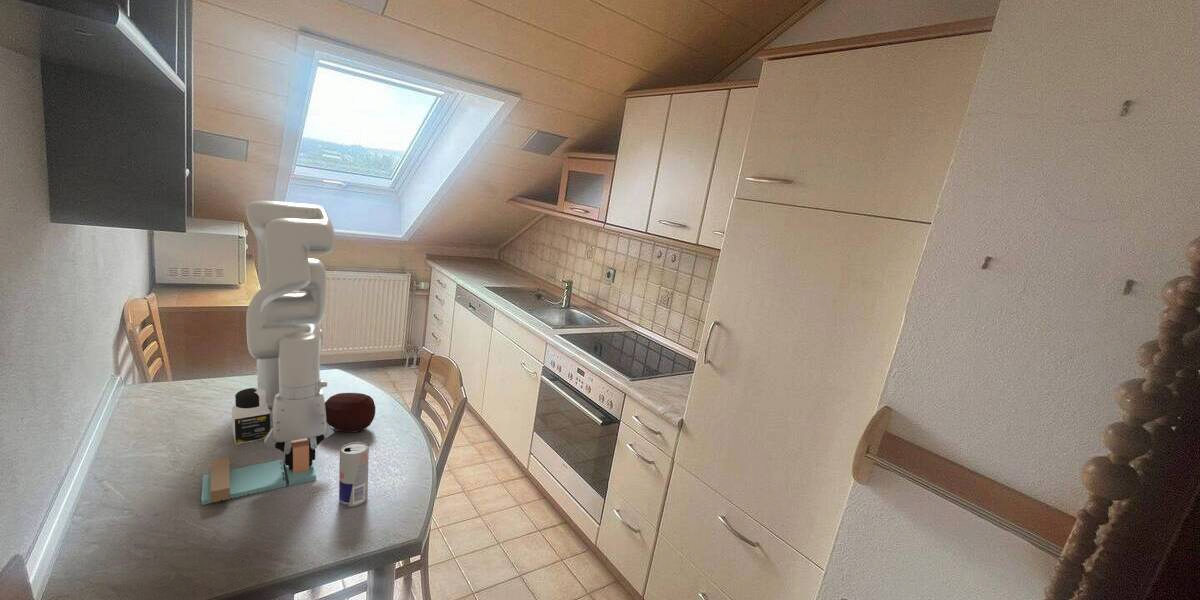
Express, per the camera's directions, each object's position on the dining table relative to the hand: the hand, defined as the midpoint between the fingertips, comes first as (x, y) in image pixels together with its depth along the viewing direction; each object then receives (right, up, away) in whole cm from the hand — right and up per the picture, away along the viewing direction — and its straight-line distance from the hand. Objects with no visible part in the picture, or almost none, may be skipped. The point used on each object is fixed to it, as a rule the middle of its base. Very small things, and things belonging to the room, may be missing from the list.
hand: (300, 464), depth 108 cm
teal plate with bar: (-8, -2, -6) cm, 10 cm away
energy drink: (+16, -5, -7) cm, 18 cm away
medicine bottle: (-20, +3, +12) cm, 24 cm away
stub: (0, -2, 0) cm, 2 cm away
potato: (0, +2, +21) cm, 21 cm away
